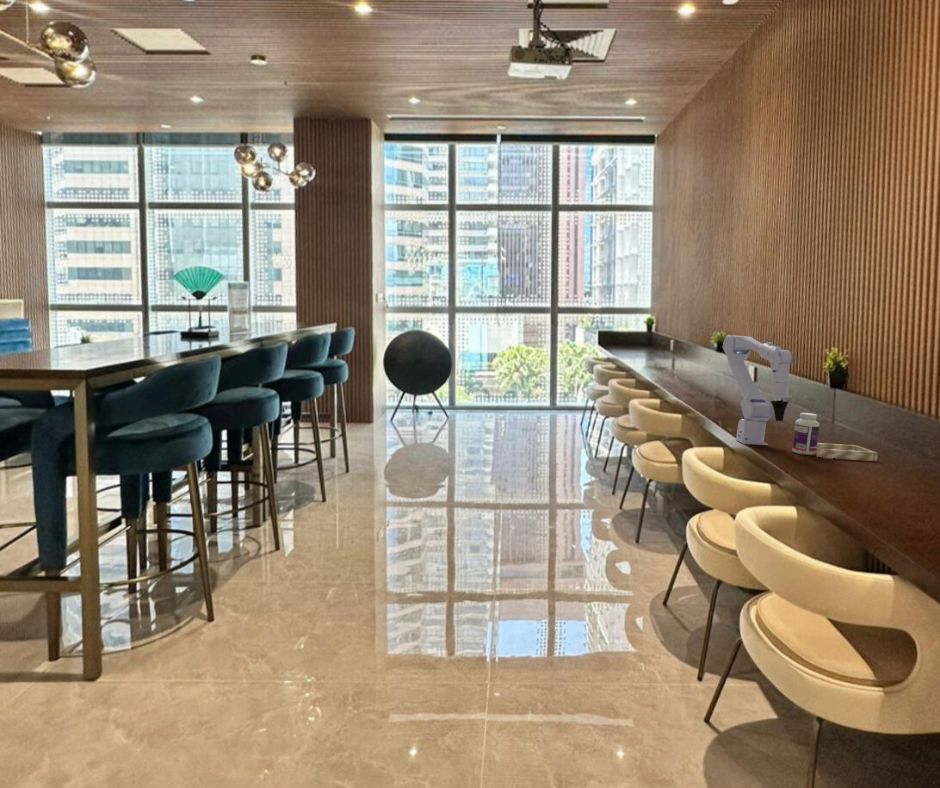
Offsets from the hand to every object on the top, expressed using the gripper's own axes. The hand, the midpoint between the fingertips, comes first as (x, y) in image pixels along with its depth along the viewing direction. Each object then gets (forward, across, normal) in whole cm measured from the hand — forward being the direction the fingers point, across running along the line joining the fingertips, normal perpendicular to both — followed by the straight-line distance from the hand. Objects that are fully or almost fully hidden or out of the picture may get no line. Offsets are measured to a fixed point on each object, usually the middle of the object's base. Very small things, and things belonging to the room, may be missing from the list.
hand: (779, 421), depth 282 cm
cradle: (+12, +10, -18) cm, 24 cm away
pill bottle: (+12, +3, -8) cm, 14 cm away
